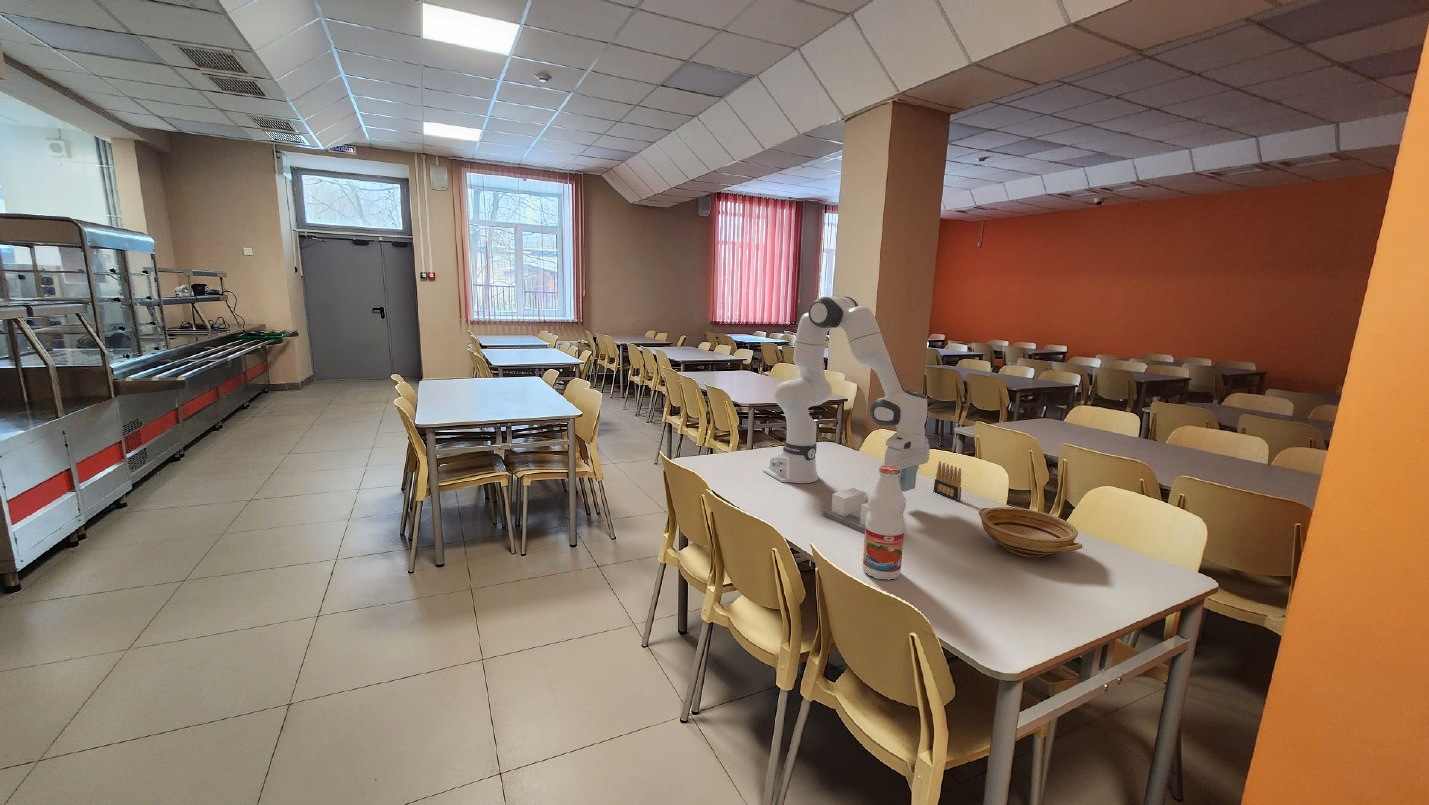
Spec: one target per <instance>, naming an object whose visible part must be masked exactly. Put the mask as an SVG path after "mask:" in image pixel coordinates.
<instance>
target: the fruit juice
mask: <svg viewBox="0 0 1429 805" xmlns="http://www.w3.org/2000/svg"><path fill="white" fill-rule="evenodd" d="M878 473H879V476H878V478H877V481H876V483H875V485H874V486H873V489H872V490H871V491H870V492H869V494H868V498H867V503H868V506H869V512H868V514H867V517H866V524H865V533H864V539H863V542H864V543H863V553H862V554H863V555H862V571H863V570H864V571H863V572H864V574H866V573H867V574H868V575H870V576H873V577H876V578H878V579H877V580H879V579H888V580H887V581H891V580H890V579H894V580H896V579H898V578H899V577H900V575H901V573H902V572H901V571H902V561H903V547H904V537H905V526H906V525H905V524H906V523H905V517H904V512H905V510H906V506H907V499H906V496H905V495H904V493H903V491H902V490H901V486H900V483H899V479H898V475H899V473H900V469H899V467H897V466H893V465H884V464H882V465H879V467H878ZM867 574H866V575H867ZM868 575H867V576H868ZM870 576H869V577H870Z"/></svg>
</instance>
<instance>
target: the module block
mask: <svg viewBox="0 0 1429 805" xmlns="http://www.w3.org/2000/svg"><path fill="white" fill-rule="evenodd" d="M917 472H918V471H917V466H913V467H909V468H906V469H902V472H900V473H901V476H903V479H902V481H901V482H899V483H900V486H901V490H902V492H907V491H911V490H914V489H916V481H917V474H918V473H917Z"/></svg>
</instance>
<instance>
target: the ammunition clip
mask: <svg viewBox="0 0 1429 805" xmlns="http://www.w3.org/2000/svg"><path fill="white" fill-rule="evenodd" d="M935 474H936V476H935V479H934V484H933V493H934V492H935V493H934V494H936V493H937V495H939V494H940V495H939V496H941V495H942V496H941V497H944V498H946V497H947V499H949V500H950V501H954V500H955V501H954V502H957V503H958V502H960V501H961V500H962V499H961V497H962V487H961V486H962V469H961V467H959V468H957V466H953V464H951V465H949V463H945V462H941V460H939V462H938V464H937V471H936V473H935Z"/></svg>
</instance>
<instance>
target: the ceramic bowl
mask: <svg viewBox="0 0 1429 805" xmlns="http://www.w3.org/2000/svg"><path fill="white" fill-rule="evenodd" d="M978 515H979V517H980V519H981V526H982V528H983V531H984V532H985V533H986V534H987V536H989V538H991V539H992V540H993V541H995V542H996V543H998V544H1000V545H1002V547H1003V548H1004V549H1005V550H1006V551H1008V552H1010V553H1013V554H1016V555H1019V556H1023V557H1027V558H1043V557H1045V556H1047V555H1053V554H1054V555H1055V554H1059V553H1062V552H1074V551H1078V550H1081V549H1082V548H1083V543H1081V542H1075V540H1076V538H1078V536H1079V531H1078V529H1077V528H1076V527H1075V526H1074V525H1073V524H1071V523H1070V522H1068V521H1066V520H1065V519H1063V518H1060V517H1057V516H1056V515H1053V514H1049V513H1046V512H1042V511H1039V510H1034V509H1028V508H1025V507H1024V508H1023V507H1013V506H1012V507H1011V506H998V507H997V506H996V507H982V508H980V509H979V510H978Z"/></svg>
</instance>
